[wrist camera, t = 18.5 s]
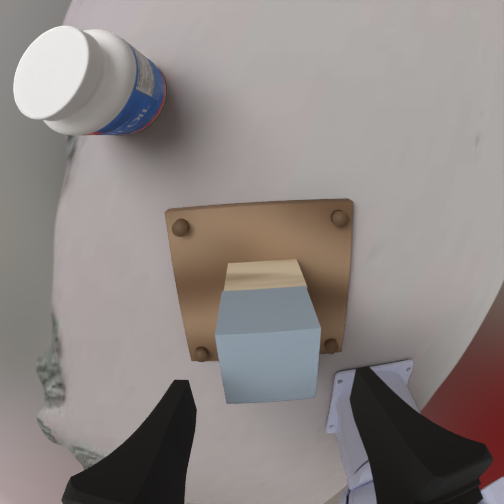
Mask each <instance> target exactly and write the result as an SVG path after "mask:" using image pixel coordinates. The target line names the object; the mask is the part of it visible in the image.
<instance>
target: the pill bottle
mask: <svg viewBox="0 0 504 504" xmlns="http://www.w3.org/2000/svg"><path fill="white" fill-rule="evenodd" d="M165 97H166V84H165V80H164V77H163V75H162V73H161V71H160V70H159V68H158V67H157V66H156V65H155V64H154V63H152V62H151V61H150V60H149V59H147V58H146V57H145V56H144V55H143V54H141V53H140V52H139V51H138V50H136V49H135V48H134V47H132V46H131V45H130V44H129V43H127V42H126V41H125V40H124V39H122V38H121V37H119V36H118V35H116V34H114V33H112V32H109V31H106V30H100V29H91V30H85V31H82V30H80V29H77V28H75V27H72V26H59V27H55V28H52V29H50V30H48V31H46V32H45V33H43V34H42V35H40V36H39V37H38V38H37V39H36V40H35V41H34V42H33V43H32V44H31V45H30V46H29V47H28V49H27V50H26V51H25V53H24V55H23V56H22V58H21V60H20V62H19V65H18V67H17V70H16V74H15V78H14V98H15V102H16V104H17V106H18V108H19V110H20V111H21V112H22V113H23V114H24V115H26V116H27V117H29V118H32V119H36V120H43V121H44V122H45V123H46V124H47V125H48V126H49V127H50V128H51V129H53V130H54V131H56V132H59V133H61V134H66V135H127V134H133V133H136V132H139V131H141V130H143V129H144V128H146V127H147V126H148V125H150V124H151V123H152V122H153V121H154V120H155V119H156V117H157V116H158V115H159V113H160V111H161V109H162V107H163V105H164V101H165Z"/></svg>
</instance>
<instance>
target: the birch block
mask: <svg viewBox="0 0 504 504" xmlns="http://www.w3.org/2000/svg"><path fill="white" fill-rule="evenodd" d="M298 286H306V288H307V285H306V282H305V279H304V277H303V274H302V272H301V269H300V266H299V264H298V261H297V259H290V260H274V261H258V262H241V263H228V267H227V273H226V279H225V286H224V291H237V290H254V289H269V288H284V287H298Z"/></svg>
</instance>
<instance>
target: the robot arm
mask: <svg viewBox="0 0 504 504" xmlns="http://www.w3.org/2000/svg"><path fill="white" fill-rule="evenodd" d="M413 366H414V362H413V360H412V359H409V360H404V361H399V362H394V363H389V364H384V365H378V366H373V367H363V368H357V369H354V370H347V371H340V372H338V373H337V374H336V375H335V379H334V385H333V392H332V398H331V403H330V409H329V415H328V420H327V425H326V433H328V434H331V433H336V437H337V441H338V445H339V449H340V453H341V457H342V461H343V465H344V469H345V473H346V475H347V477H348V478H347V481H348V485H349V488H348V489H346V490H344V491H343V493H342V494H341V497H340V501H339V504H504V477H501V478H500V479H498V480H496V481H495V482H493V483H491V484H490V485H488V486H486V487H485V488H483V489H482V490H481V491H480V490H479V488H478V486H479V485H480V484H481V483H480V480H479V477H480V476H481V475H482V474H483V473H484V472H485V471H486V470H487V469H488V467H489V466H490V465H491V463H492V461H493V457H492V455H491V454H490V452H489V450H488V449H487V447H486V445H485V444H482V443H479V442H476V441H473V440H470V439H467V438H464V437H462V436H459V435H457V434H454V433H452V432H450V431H448V430H446V429H444V428H442V427H441V426H439V425H437V424H435V423H433V422H432V421H430V420H429V419H427V418H426V417H424V416H423V415H421V413H420V411H419V409H418V407H417V405H416V403H415V401H414V399H413V398H412V396H411V394H410V392H409V390H408V388H407V383H408V380H409V378H410V375H411V372H412V369H413ZM339 380H340V381H339ZM196 412H197V409H196V406H195V402H194V399H193V395H192V391H191V388H190V384H189V380H174V381H173V382H172V384H171V385H170V387H169V388H168V390H167V391H166V393H165V394H164V396H163V397H162V399H161V400H160V402H159V403H158V404H157V406H156V407H155V408H154V410H153V411H152V412H151V414H150V415H149V416H148V417H147V418H146V420H145V421H144V422H143V423H142V424H141V426H140V427H139V428H138V429H137V430H136V431H135V432H134V433H133V434H132V435H131V436H130V437H129V438H128V439H127V440H126V441H125V442H124V443H123V444H122V445H120V446H119V447H118V448H117V449H116V450H114V451H113V452H112V453H111V454H109V455H108V456H107V457H105V458H104V459H102V460H101V461H99V462H98V463H96V464H95V465H93V466H91V467H90V468H88V469H86V470H84V471H82V472H80V473H78V474H76V475H74V476H72V477H71V478H70V480H69V482H68V484H67V486H66V489H65V492H64V495H63V497H62V502H63V504H184V496H185V482H186V473H187V467H188V462H189V457H190V453H191V448H192V443H193V438H194V433H195V426H196Z"/></svg>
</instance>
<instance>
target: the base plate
mask: <svg viewBox="0 0 504 504" xmlns="http://www.w3.org/2000/svg"><path fill="white" fill-rule="evenodd" d="M165 217H166V224H167V232H168V238H169V245H170V252H171V258H172V264H173V270H174V276H175V282H176V287H177V293H178V298H179V304H180V309H181V314H182V319H183V324H184V329H185V333H186V338H187V343H188V347H189V352H190V356H191V361H199V362H204V361H219V358H218V352H217V345H216V339H215V331H216V324H217V318H218V312H219V306H220V300H221V294H222V291H224V286H225V279H226V273H227V267H228V263H241V262H258V261H274V260H290V259H297V261H298V264H299V266H300V269H301V272H302V274H303V277H304V279H305V282H306V285H307V291H308V293H309V296H310V299H311V302H312V304H313V307H314V310H315V313H316V315H317V318H318V321H319V324H320V326H321V336H320V349H319V354H326V353H329V354H333V353H335V352H341V350H342V343H343V335H344V326H345V317H346V308H347V298H348V286H349V274H350V259H351V242H352V217H353V201H351V200H350V199H316V200H290V201H270V202H252V203H236V204H221V205H208V206H195V207H183V208H172V209H168V210H167V211H166V212H165Z"/></svg>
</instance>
